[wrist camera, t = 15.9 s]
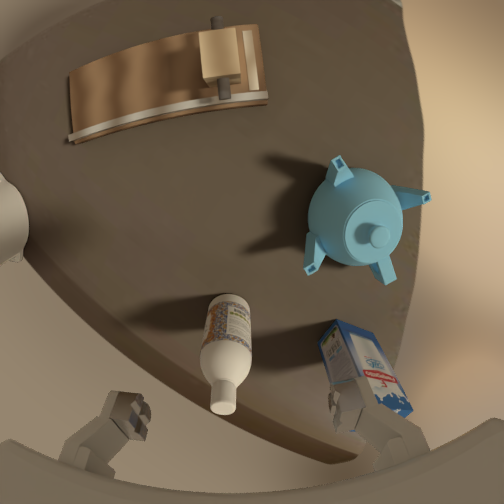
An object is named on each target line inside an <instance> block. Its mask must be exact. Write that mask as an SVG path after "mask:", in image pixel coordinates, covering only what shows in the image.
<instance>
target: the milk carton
mask: <svg viewBox="0 0 504 504" xmlns="http://www.w3.org/2000/svg"><path fill="white" fill-rule="evenodd" d="M318 346H319V350H320V353H321V356H322V359H323V362H324V366H325V369H326V372H327V375H328V379H329V382H330V385H331V383H332V382H337V381H342V380H347V379H351V378H357V377H361V376H366V377H367V378H368V381H369V383H370V385H371V388H372V390H373V392H374V395H375V397H376V399H377V402H378V404H381V403H382V404H383V405H385V406H386V407H388V408H389V409H391V410H393V411H394V412H396V413H397V414H399V415H400V416H402V417H404V418H405V417H406V416H408V415H409V414H410V413H411V412H412V411H413V409H412V407H411V405H410V402H409V400H408V398H407V397H406V395H405V392H404V390H403V388H402V386H401V384H400V382H399V380H398V379H397V377H396V375H395V373H394V371H393V369H392V367H391V365H390V363H389V361H388V360H387V358H386V356H385V354H384V352H383V350H382V348H381V347H380V345H379V343H378V341H377V339H376V338H375V336H374V334H373V333H371V332H369V331H366V330H364V329H361V328H358V327H356V326H353V325H351V324H348V323H345V322H343V321H340V320H338V319H336V320H335V321H334V323H333V324H332V325H331V326H330V328H329V329H328V330H327V331H326V333H325V334H324V335H323V336H322V338H321V339H320V340H319V341H318ZM351 431H355V430H351ZM355 432H356V431H355Z"/></svg>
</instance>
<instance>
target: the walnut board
mask: <svg viewBox="0 0 504 504" xmlns="http://www.w3.org/2000/svg"><path fill="white" fill-rule="evenodd" d="M234 27H235V30H236V38H237V46H238V55H239V64H240V72H241V84H234V85H230V90H231V99H227V100H219V96H218V87H211V88H210V87H209V86H208V85H207V83H206V82H205V80H204V79H203V73H202V63H201V53H200V42H199V32H204V31H211V30H212V29H208V30H201V31H196V32H190V33H185V34H181V35H176V36H172V37H167V38H163V39H159V40H156V41H152V42H148V43H145V44H141V45H138V46H135V47H132V48H129V49H126V50H123V51H120V52H117V53H114V54H111V55H109V56H106V57H104V58H101V59H98V60H96V61H94V62H91V63H89V64H86V65H84V66H82V67H80V68H78V69H75V70H73V71H71V72H69V74H70V100H71V113H72V124H73V133H72V134H70V135H68V137H69V142H70V141H75V144H80V143H84V142H87V141H90V140H93V139H96V138H99V137H102V136H105V135H108V134H112V133H115V132H119V131H122V130H126V129H129V128H133V127H137V126H141V125H145V124H149V123H153V122H158V121H162V120H167V119H172V118H177V117H182V116H187V115H193V114H199V113H205V112H211V111H218V110H226V109H234V108H243V107H253V106H265V105H267V104H268V101H267V100H268V91H266V84H265V75H264V67H263V59H262V52H261V44H260V37H259V29H258V24H251V25H239V26H230V27H224V29H226V28H234Z"/></svg>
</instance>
